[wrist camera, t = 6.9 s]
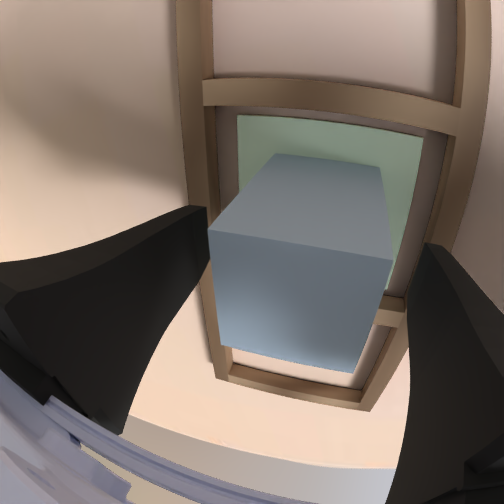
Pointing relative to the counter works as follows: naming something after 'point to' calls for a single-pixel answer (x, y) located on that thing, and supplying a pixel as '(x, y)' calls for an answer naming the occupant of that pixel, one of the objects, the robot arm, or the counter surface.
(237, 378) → the rack
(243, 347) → the block
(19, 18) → the counter surface
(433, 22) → the counter surface
